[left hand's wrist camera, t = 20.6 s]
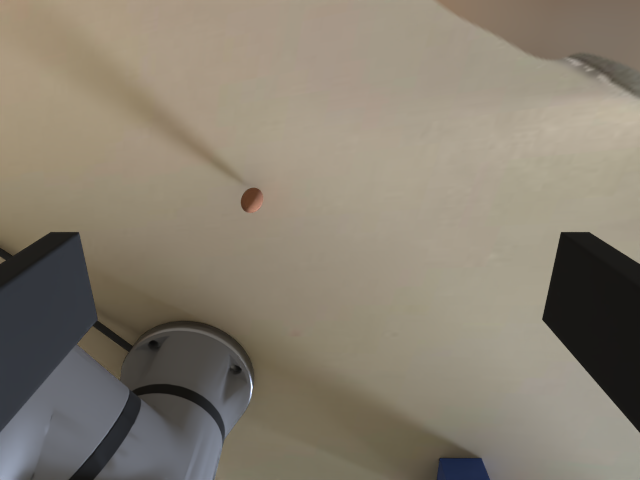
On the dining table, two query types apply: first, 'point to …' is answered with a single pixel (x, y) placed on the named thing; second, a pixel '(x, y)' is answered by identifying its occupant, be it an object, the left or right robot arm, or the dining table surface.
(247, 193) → the brown ellipsoid
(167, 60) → the dining table surface
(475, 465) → the block
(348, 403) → the dining table surface
